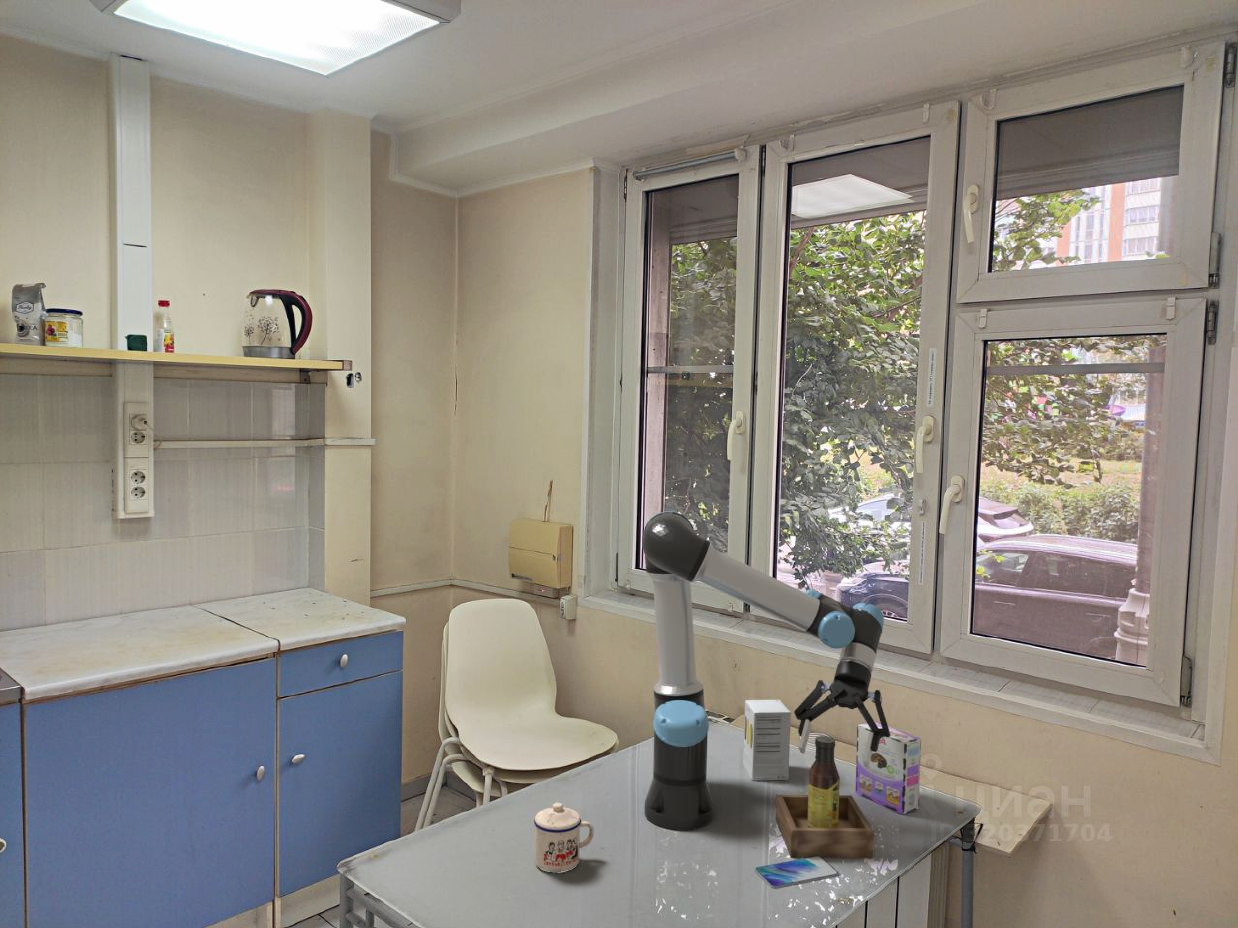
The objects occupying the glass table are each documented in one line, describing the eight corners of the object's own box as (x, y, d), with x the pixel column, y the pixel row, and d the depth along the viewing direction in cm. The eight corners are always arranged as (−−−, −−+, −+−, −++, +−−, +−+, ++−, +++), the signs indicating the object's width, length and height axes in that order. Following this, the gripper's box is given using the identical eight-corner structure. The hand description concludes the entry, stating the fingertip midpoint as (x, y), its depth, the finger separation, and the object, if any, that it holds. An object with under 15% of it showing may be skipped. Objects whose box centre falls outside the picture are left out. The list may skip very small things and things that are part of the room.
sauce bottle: (838, 842, 181) (842, 746, 180) (807, 838, 182) (810, 743, 181) (837, 827, 187) (840, 735, 186) (806, 824, 189) (810, 732, 187)
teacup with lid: (541, 878, 167) (542, 818, 166) (528, 855, 175) (528, 797, 174) (601, 867, 171) (602, 808, 170) (585, 845, 180) (586, 789, 179)
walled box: (790, 857, 177) (791, 830, 176) (775, 819, 193) (776, 794, 193) (873, 858, 177) (874, 831, 176) (850, 819, 193) (851, 795, 193)
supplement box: (742, 765, 222) (744, 699, 221) (778, 764, 223) (780, 698, 222) (752, 781, 212) (754, 712, 211) (789, 780, 213) (791, 711, 212)
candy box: (919, 809, 199) (922, 737, 198) (902, 815, 196) (905, 742, 195) (870, 787, 210) (873, 719, 209) (853, 792, 207) (856, 723, 206)
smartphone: (841, 873, 170) (772, 887, 165) (840, 877, 170) (772, 891, 165) (819, 854, 177) (753, 867, 171) (819, 858, 177) (752, 871, 171)
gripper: (914, 686, 194) (896, 778, 182) (803, 667, 206) (779, 752, 194) (910, 668, 189) (891, 761, 177) (796, 650, 201) (771, 736, 189)
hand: (832, 757), depth 185 cm, fingers open, 13 cm apart
